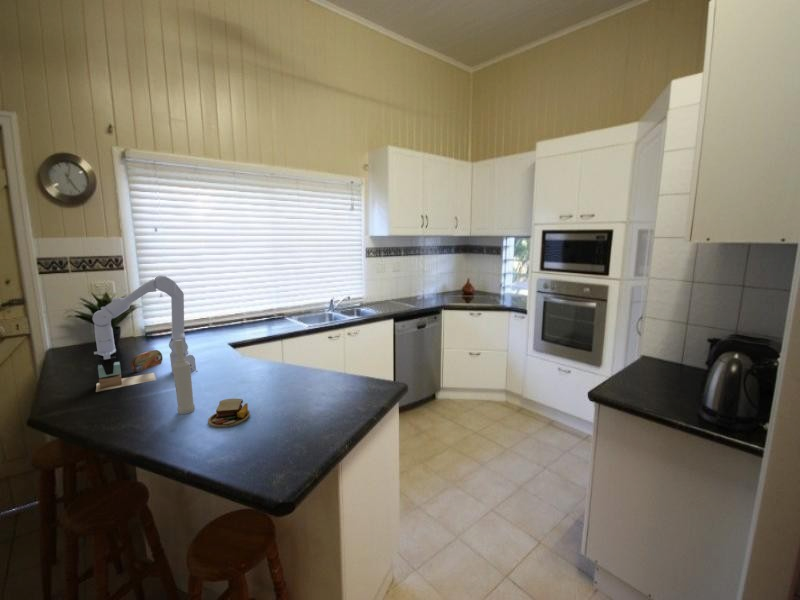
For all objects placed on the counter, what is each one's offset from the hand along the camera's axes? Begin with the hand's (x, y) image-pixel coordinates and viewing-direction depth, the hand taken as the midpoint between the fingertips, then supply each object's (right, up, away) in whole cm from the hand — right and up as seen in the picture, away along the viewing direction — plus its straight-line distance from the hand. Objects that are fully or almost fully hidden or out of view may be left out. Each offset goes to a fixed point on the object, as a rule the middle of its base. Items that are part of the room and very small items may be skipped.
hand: (109, 372), depth 154 cm
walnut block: (0, -5, +1) cm, 5 cm away
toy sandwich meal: (+63, -10, -31) cm, 70 cm away
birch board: (+4, -6, +4) cm, 8 cm away
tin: (+1, -3, +22) cm, 22 cm away
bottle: (+45, -9, -24) cm, 52 cm away
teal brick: (0, -1, 0) cm, 1 cm away
